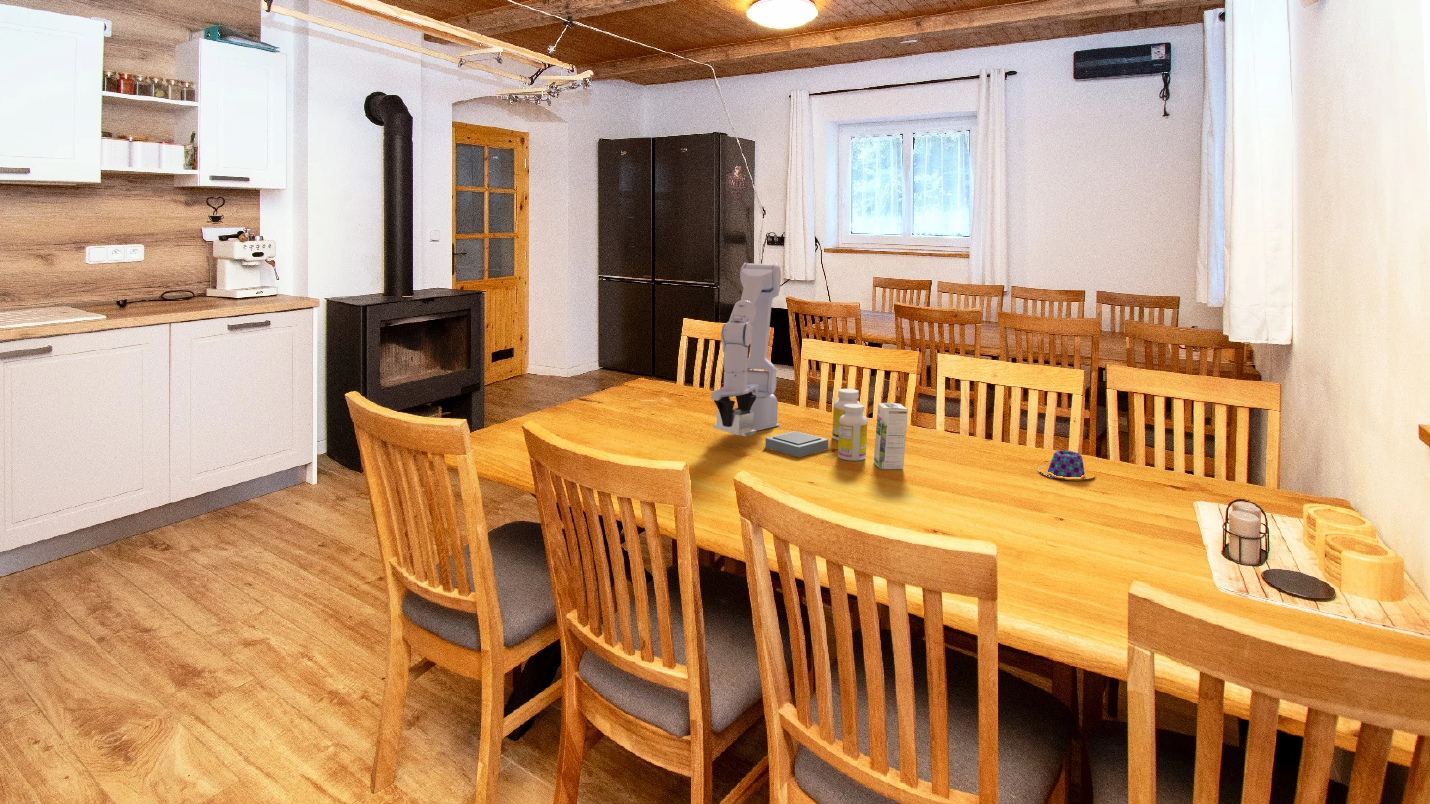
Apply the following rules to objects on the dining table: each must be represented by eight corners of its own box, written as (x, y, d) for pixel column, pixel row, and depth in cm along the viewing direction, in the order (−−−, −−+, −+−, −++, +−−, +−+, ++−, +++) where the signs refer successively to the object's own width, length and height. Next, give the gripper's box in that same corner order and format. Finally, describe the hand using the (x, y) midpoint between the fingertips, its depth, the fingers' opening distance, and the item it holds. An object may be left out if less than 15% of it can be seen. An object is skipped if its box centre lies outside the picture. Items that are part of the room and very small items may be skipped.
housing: (726, 424, 216) (726, 403, 214) (757, 433, 208) (758, 411, 206) (712, 427, 212) (712, 406, 211) (743, 436, 204) (743, 414, 203)
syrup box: (872, 462, 198) (876, 402, 194) (897, 462, 198) (901, 402, 195) (879, 469, 192) (883, 408, 189) (904, 469, 193) (908, 408, 189)
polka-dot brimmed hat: (1031, 466, 197) (1033, 445, 196) (1083, 468, 196) (1086, 447, 195) (1046, 482, 186) (1048, 459, 185) (1102, 484, 185) (1105, 462, 184)
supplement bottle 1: (841, 443, 214) (844, 394, 211) (826, 436, 221) (829, 388, 218) (865, 440, 217) (867, 392, 214) (849, 434, 223) (852, 386, 221)
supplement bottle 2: (862, 453, 205) (865, 402, 202) (868, 461, 198) (871, 408, 196) (835, 453, 205) (837, 402, 202) (840, 461, 198) (842, 408, 195)
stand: (794, 440, 216) (795, 429, 216) (828, 449, 209) (828, 438, 208) (765, 447, 209) (765, 436, 208) (798, 457, 201) (799, 445, 201)
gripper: (725, 376, 199) (724, 432, 202) (767, 369, 209) (766, 422, 212) (705, 372, 204) (704, 426, 207) (747, 365, 214) (746, 417, 217)
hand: (734, 424), depth 210 cm, fingers closed on housing, 5 cm apart
